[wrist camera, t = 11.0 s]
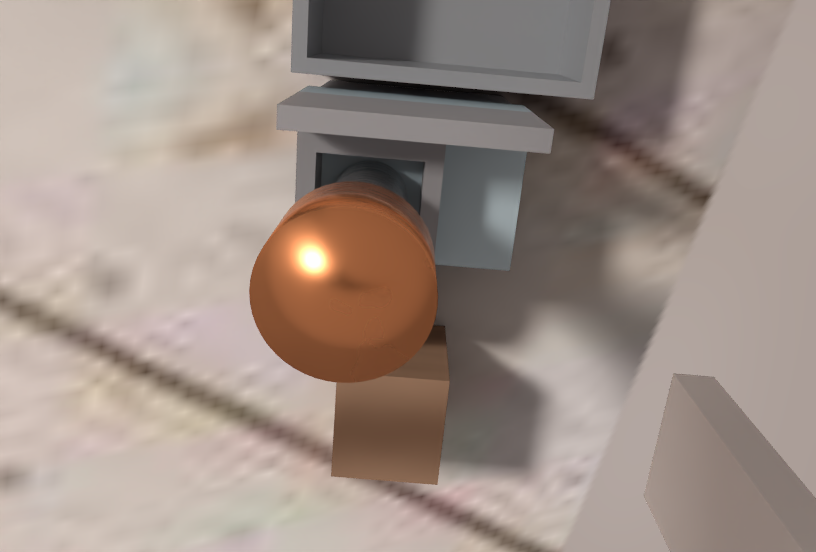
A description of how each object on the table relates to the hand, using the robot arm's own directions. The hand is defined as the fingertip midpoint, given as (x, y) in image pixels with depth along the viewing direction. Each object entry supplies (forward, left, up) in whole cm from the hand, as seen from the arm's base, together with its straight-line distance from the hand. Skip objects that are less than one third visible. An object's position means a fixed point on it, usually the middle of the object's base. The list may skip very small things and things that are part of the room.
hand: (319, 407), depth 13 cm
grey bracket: (+1, +1, -22) cm, 22 cm away
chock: (+11, +1, -22) cm, 25 cm away
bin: (-9, +2, -22) cm, 24 cm away
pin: (0, 0, -16) cm, 16 cm away
